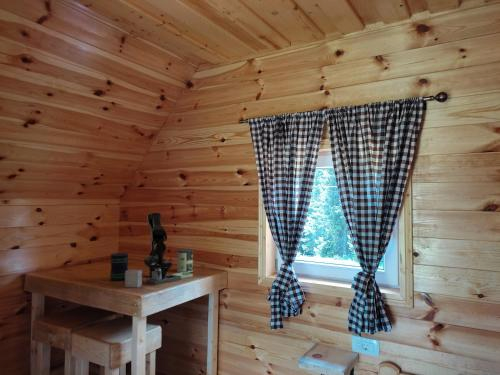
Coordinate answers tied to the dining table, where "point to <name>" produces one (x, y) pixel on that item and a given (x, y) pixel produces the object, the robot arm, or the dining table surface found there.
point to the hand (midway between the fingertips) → (158, 278)
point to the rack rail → (164, 280)
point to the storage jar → (118, 266)
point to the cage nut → (156, 274)
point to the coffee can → (185, 260)
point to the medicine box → (133, 278)
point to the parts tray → (183, 275)
